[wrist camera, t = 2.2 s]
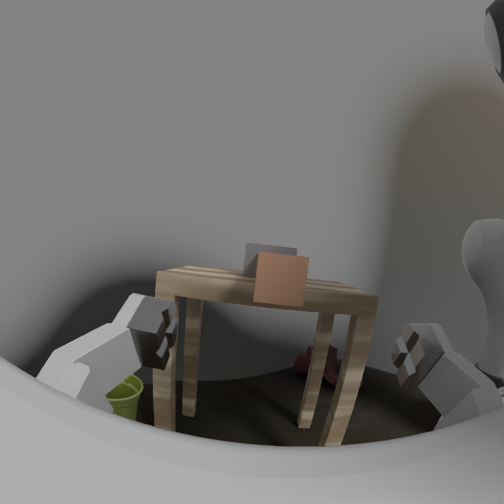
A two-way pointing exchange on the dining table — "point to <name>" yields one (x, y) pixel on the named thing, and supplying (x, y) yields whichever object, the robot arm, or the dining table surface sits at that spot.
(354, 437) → the dining table surface
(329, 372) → the bracket
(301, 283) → the mallet
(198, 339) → the frame
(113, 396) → the plant pot
